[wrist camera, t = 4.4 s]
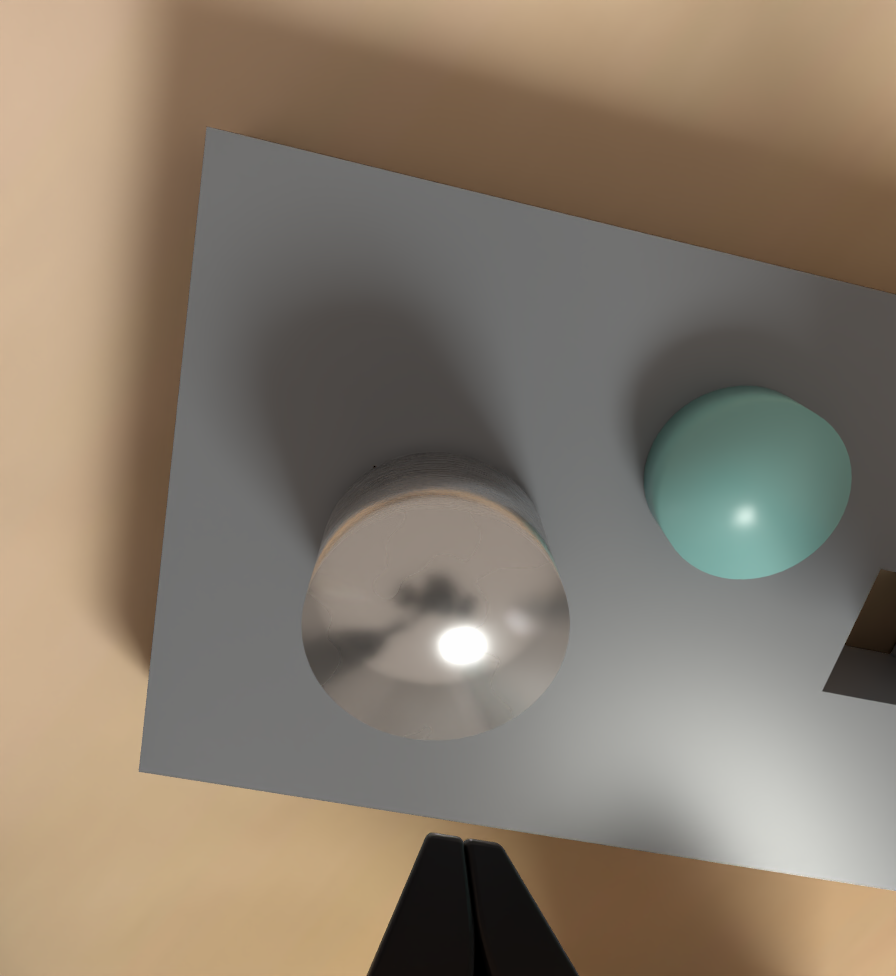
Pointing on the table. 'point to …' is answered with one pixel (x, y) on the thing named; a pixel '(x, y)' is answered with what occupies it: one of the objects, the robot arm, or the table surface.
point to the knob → (435, 600)
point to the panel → (555, 495)
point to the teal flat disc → (747, 482)
